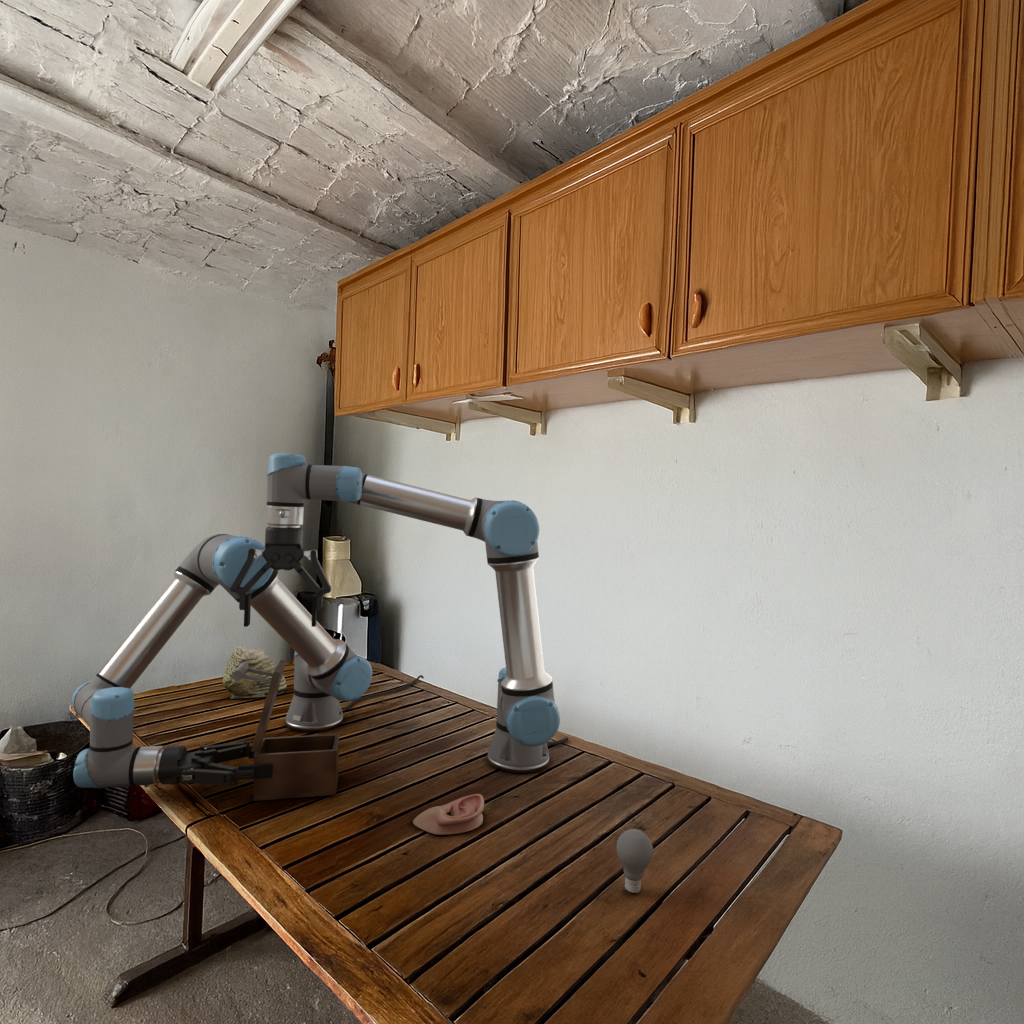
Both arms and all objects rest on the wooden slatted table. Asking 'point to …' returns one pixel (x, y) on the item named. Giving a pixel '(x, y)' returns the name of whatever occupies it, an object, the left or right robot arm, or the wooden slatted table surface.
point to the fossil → (247, 686)
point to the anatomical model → (452, 816)
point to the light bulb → (634, 857)
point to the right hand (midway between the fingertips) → (280, 625)
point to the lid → (270, 698)
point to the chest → (298, 767)
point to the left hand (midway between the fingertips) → (276, 760)
